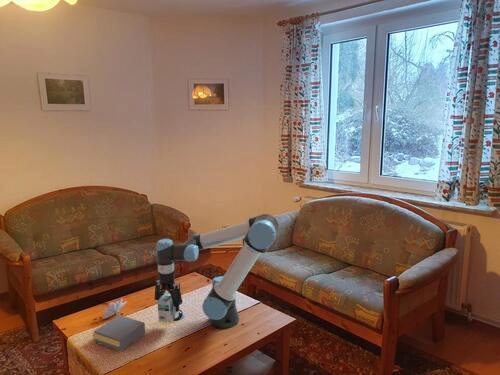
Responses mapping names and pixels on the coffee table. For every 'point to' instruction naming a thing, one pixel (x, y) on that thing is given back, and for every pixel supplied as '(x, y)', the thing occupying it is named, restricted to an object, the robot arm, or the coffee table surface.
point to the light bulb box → (166, 308)
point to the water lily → (113, 308)
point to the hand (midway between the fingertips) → (169, 315)
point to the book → (119, 332)
